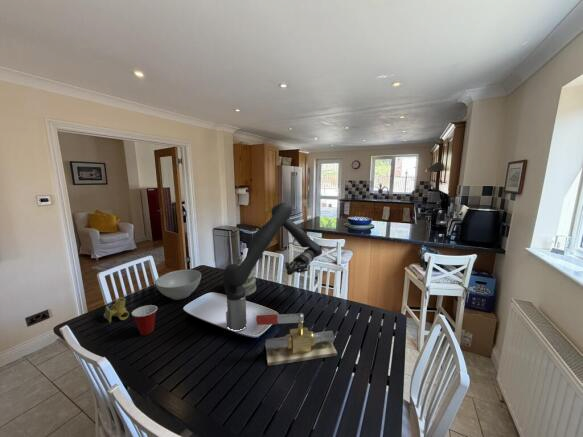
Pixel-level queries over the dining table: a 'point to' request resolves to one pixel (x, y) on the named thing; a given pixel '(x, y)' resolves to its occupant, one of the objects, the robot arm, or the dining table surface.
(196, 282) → the decorative bowl
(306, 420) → the dining table surface
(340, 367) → the dining table surface
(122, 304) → the ball valve
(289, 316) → the valve lever
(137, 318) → the plastic cup
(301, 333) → the valve line
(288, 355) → the mounting board
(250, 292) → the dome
